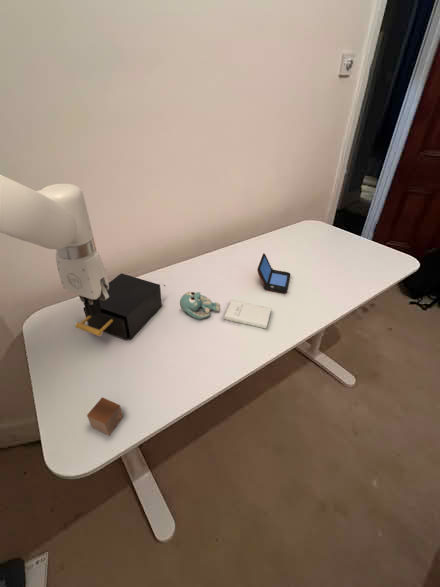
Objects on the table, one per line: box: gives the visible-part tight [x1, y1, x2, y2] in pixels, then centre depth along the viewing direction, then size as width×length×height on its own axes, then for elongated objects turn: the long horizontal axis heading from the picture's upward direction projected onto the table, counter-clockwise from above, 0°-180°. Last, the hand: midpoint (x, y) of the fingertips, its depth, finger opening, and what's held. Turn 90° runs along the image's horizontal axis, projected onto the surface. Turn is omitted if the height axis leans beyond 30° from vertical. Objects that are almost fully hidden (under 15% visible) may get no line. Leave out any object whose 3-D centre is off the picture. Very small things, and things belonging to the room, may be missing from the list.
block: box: [86, 396, 124, 437], centre depth 61 cm, size 4×4×4 cm
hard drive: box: [224, 300, 272, 330], centre depth 90 cm, size 2×8×12 cm
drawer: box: [75, 306, 129, 340], centre depth 83 cm, size 20×12×6 cm, turn 157°
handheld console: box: [257, 252, 291, 294], centre depth 103 cm, size 12×11×7 cm
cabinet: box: [99, 272, 163, 340], centre depth 86 cm, size 16×14×8 cm
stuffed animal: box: [179, 291, 221, 320], centre depth 90 cm, size 11×7×12 cm
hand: (94, 312), depth 74 cm, fingers closed
